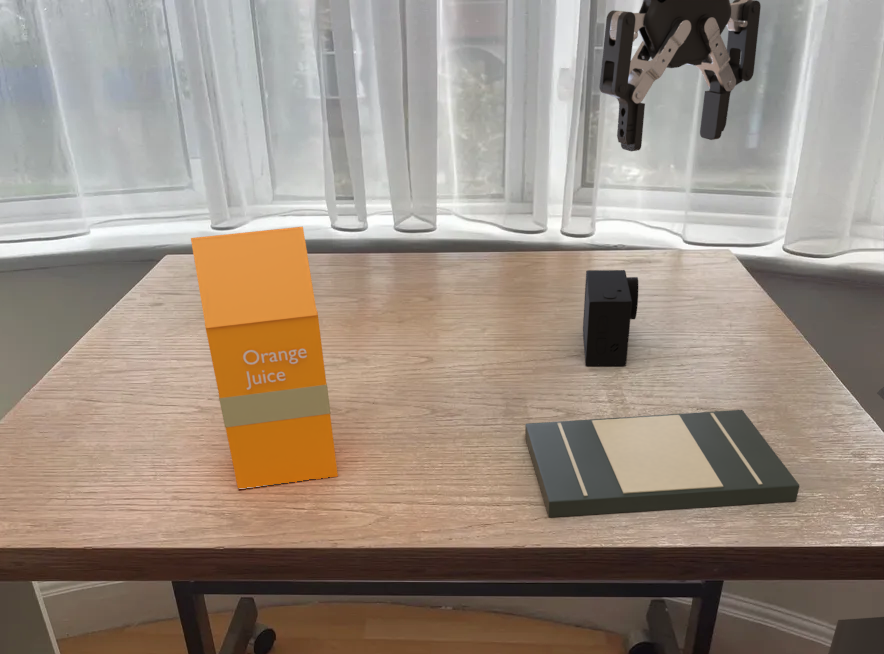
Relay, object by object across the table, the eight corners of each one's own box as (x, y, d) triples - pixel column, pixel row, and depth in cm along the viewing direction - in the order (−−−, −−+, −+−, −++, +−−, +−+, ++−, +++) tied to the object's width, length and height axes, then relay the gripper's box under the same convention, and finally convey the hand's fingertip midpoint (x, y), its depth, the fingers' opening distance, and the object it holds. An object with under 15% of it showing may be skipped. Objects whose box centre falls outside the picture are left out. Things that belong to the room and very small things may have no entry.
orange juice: (234, 450, 83) (189, 225, 71) (328, 438, 85) (300, 214, 73) (237, 491, 77) (189, 252, 65) (339, 477, 79) (310, 239, 66)
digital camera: (637, 366, 95) (644, 300, 90) (585, 367, 95) (589, 301, 91) (630, 330, 103) (636, 268, 99) (582, 331, 103) (586, 269, 99)
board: (739, 424, 83) (742, 408, 82) (796, 501, 72) (800, 484, 71) (525, 437, 83) (525, 422, 82) (548, 517, 72) (549, 500, 71)
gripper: (646, -80, 66) (627, 161, 76) (799, -89, 70) (763, 141, 80) (591, -78, 71) (580, 147, 81) (737, -86, 76) (709, 128, 85)
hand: (671, 143), depth 81 cm, fingers open, 8 cm apart
